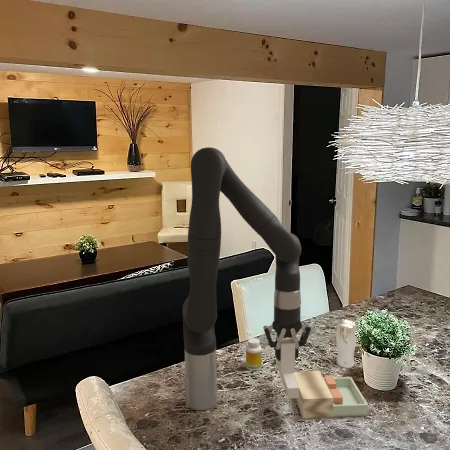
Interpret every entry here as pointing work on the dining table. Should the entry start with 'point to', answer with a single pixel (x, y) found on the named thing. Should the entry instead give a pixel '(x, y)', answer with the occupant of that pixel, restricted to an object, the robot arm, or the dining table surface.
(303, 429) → the dining table surface
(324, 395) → the tan block
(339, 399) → the tile front
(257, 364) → the supplement bottle
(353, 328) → the beer glass
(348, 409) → the box
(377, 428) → the dining table surface
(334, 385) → the tile back
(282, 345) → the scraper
